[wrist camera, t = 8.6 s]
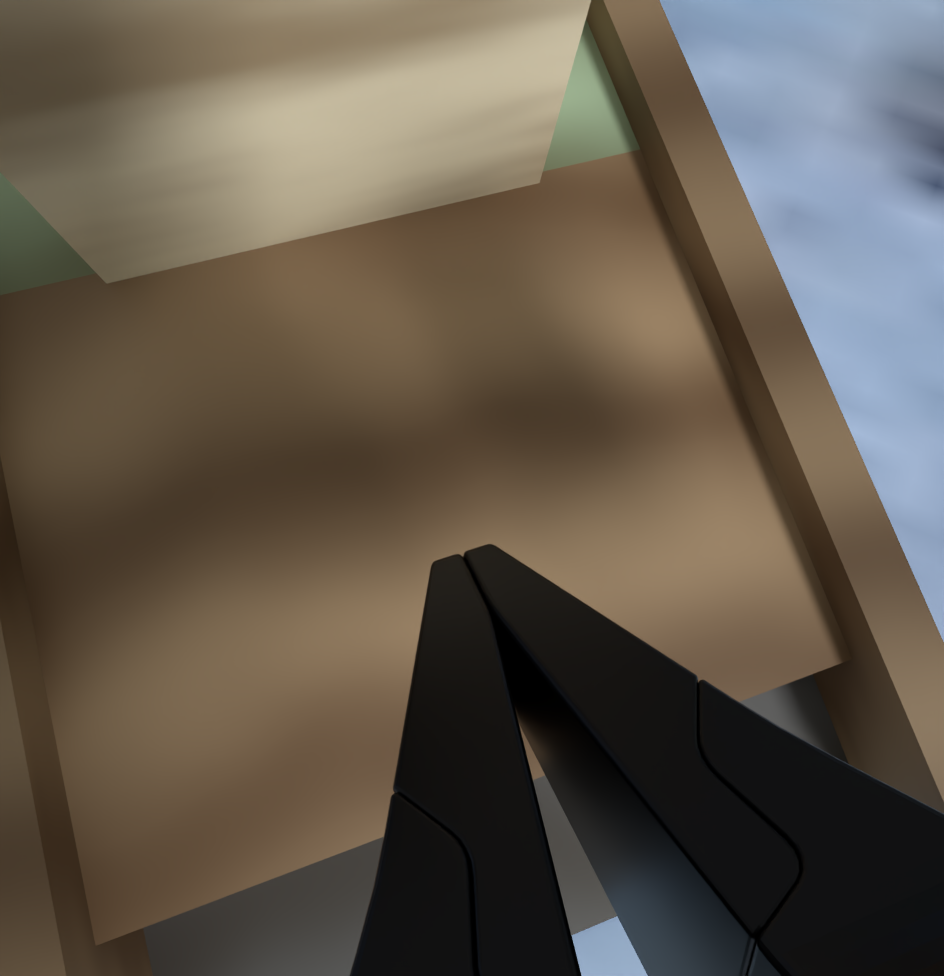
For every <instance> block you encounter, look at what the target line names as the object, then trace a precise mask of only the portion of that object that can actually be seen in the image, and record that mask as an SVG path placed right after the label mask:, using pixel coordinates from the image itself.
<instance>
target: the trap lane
mask: <svg viewBox="0 0 944 976" xmlns="http://www.w3.org/2000/svg"><path fill="white" fill-rule="evenodd" d="M486 544H493V545H495V546H497V547H498V548H500V549H502V550H503V551H505V552H506V553H508V554H509V555H511V556H512V557H514V558H515V559H517V560H519V561H520V562H522V563H523V564H525V565H526V566H528V567H529V568H531V569H533V570H534V571H536V572H537V573H539V574H540V575H542V576H543V577H545V578H547V579H548V580H550V581H551V582H553V583H554V584H556V585H557V586H559V587H561V588H562V589H564V590H565V591H567V592H568V593H570V594H571V595H573V596H575V597H576V598H578V599H579V600H581V601H582V602H584V603H585V604H587V605H589V606H590V607H592V608H593V609H595V610H596V611H598V612H599V613H601V614H603V615H604V616H606V617H607V618H609V619H610V620H612V621H613V622H615V623H616V624H618V625H620V626H621V627H623V628H624V629H626V630H627V631H629V632H630V633H632V634H634V635H635V636H637V637H638V638H640V639H641V640H643V641H644V642H646V643H648V644H649V645H651V646H652V647H654V648H655V649H657V650H658V651H660V652H662V653H663V654H665V655H666V656H668V657H669V658H671V659H672V660H674V661H676V662H677V663H679V664H680V665H682V666H683V667H685V668H686V669H688V670H690V671H691V672H693V673H694V674H696V675H697V677H698V682H699V681H700V680H702V679H703V680H706V681H707V682H709V683H710V684H712V685H713V686H715V687H716V688H718V689H719V690H721V691H723V692H724V693H726V694H727V695H729V696H730V697H732V698H733V699H735V700H737V701H738V702H740V703H742V704H743V705H745V706H747V707H748V708H750V709H752V710H753V711H755V712H756V713H758V714H760V715H761V716H763V717H765V718H766V719H768V720H770V721H771V722H773V723H774V724H776V725H778V726H779V727H781V728H783V729H785V730H787V731H789V732H790V733H792V734H794V735H796V736H798V737H799V738H801V739H803V740H805V741H807V742H809V743H810V744H812V745H814V746H816V747H818V748H820V749H821V750H823V751H825V752H827V753H829V754H830V755H832V756H834V757H836V758H838V759H840V760H842V761H844V762H846V763H847V764H849V765H851V766H853V767H855V768H857V769H859V770H861V771H863V772H865V773H867V774H869V775H871V776H872V777H874V778H876V779H878V780H880V781H882V782H884V783H886V784H888V785H890V786H892V787H894V788H895V789H897V790H899V791H901V792H903V793H905V794H907V795H909V796H911V797H913V798H915V799H917V800H919V801H920V802H922V803H924V804H926V805H928V806H930V807H932V808H934V809H936V810H938V811H940V812H942V813H944V642H943V640H942V638H941V636H940V633H939V631H938V629H937V627H936V624H935V622H934V620H933V617H932V615H931V613H930V611H929V608H928V606H927V604H926V602H925V599H924V597H923V595H922V593H921V590H920V588H919V586H918V584H917V581H916V579H915V577H914V575H913V572H912V570H911V568H910V566H909V563H908V561H907V559H906V557H905V554H904V552H903V550H902V547H901V545H900V543H899V541H898V538H897V536H896V534H895V532H894V529H893V527H892V525H891V523H890V520H889V518H888V516H887V514H886V511H885V509H884V507H883V505H882V502H881V500H880V498H879V496H878V493H877V491H876V489H875V487H874V484H873V482H872V480H871V477H870V475H869V473H868V471H867V468H866V466H865V464H864V462H863V459H862V457H861V455H860V453H859V450H858V448H857V446H856V444H855V441H854V439H853V437H852V435H851V432H850V430H849V428H848V426H847V423H846V421H845V419H844V417H843V414H842V412H841V410H840V407H839V405H838V403H837V401H836V398H835V396H834V394H833V392H832V389H831V387H830V385H829V383H828V380H827V378H826V376H825V374H824V371H823V369H822V367H821V365H820V362H819V360H818V358H817V356H816V353H815V351H814V349H813V347H812V344H811V342H810V340H809V337H808V335H807V333H806V331H805V328H804V326H803V324H802V322H801V319H800V317H799V315H798V313H797V310H796V308H795V306H794V304H793V301H792V299H791V297H790V295H789V292H788V290H787V288H786V286H785V283H784V281H783V279H782V277H781V274H780V272H779V270H778V267H777V265H776V263H775V261H774V258H773V256H772V254H771V252H770V249H769V247H768V245H767V243H766V240H765V238H764V236H763V234H762V231H761V229H760V227H759V225H758V222H757V220H756V218H755V216H754V213H753V211H752V209H751V207H750V204H749V202H748V200H747V197H746V195H745V193H744V191H743V188H742V186H741V184H740V182H739V179H738V177H737V175H736V173H735V170H734V168H733V166H732V164H731V161H730V159H729V157H728V155H727V152H726V150H725V148H724V146H723V143H722V141H721V139H720V137H719V134H718V132H717V130H716V127H715V125H714V123H713V121H712V118H711V116H710V114H709V112H708V109H707V107H706V105H705V103H704V100H703V98H702V96H701V94H700V91H699V89H698V87H697V85H696V82H695V80H694V78H693V76H692V73H691V71H690V69H689V67H688V64H687V62H686V60H685V57H684V55H683V53H682V51H681V48H680V46H679V44H678V42H677V39H676V37H675V35H674V33H673V30H672V28H671V26H670V24H669V21H668V19H667V17H666V15H665V12H664V10H663V8H662V6H661V3H660V1H659V0H591V3H590V6H589V10H588V13H587V17H586V20H585V24H584V27H583V31H582V34H581V38H580V42H579V45H578V49H577V52H576V56H575V59H574V63H573V66H572V70H571V73H570V77H569V80H568V84H567V88H566V91H565V95H564V98H563V102H562V105H561V109H560V112H559V116H558V119H557V123H556V126H555V130H554V133H553V137H552V141H551V144H550V148H549V151H548V155H547V158H546V162H545V165H544V169H543V172H542V176H541V179H540V183H537V184H533V185H529V186H524V187H520V188H516V189H511V190H507V191H503V192H499V193H494V194H490V195H486V196H481V197H477V198H473V199H468V200H464V201H460V202H456V203H451V204H447V205H443V206H438V207H434V208H430V209H425V210H421V211H417V212H413V213H408V214H404V215H400V216H395V217H391V218H387V219H382V220H378V221H374V222H370V223H365V224H361V225H357V226H352V227H348V228H344V229H340V230H335V231H331V232H327V233H322V234H318V235H314V236H309V237H305V238H301V239H297V240H292V241H288V242H284V243H279V244H275V245H271V246H266V247H262V248H258V249H254V250H249V251H245V252H241V253H236V254H232V255H228V256H223V257H219V258H215V259H211V260H206V261H202V262H198V263H193V264H189V265H185V266H180V267H176V268H172V269H168V270H163V271H159V272H155V273H150V274H146V275H142V276H137V277H133V278H129V279H125V280H120V281H116V282H112V283H107V284H106V283H105V282H104V281H103V279H102V278H101V277H100V276H99V275H98V274H97V273H96V272H95V271H94V270H93V269H92V268H91V267H90V266H89V265H88V264H87V263H86V262H85V261H84V260H83V258H82V257H81V256H80V255H79V254H78V253H77V252H76V251H75V250H74V249H73V248H72V247H71V246H70V245H69V244H68V243H67V242H66V241H65V240H64V238H63V237H62V236H61V235H60V234H59V233H58V232H57V231H56V230H55V229H54V228H53V227H52V226H51V225H50V224H49V223H48V222H47V221H46V220H45V219H44V217H43V216H42V215H41V214H40V213H39V212H38V211H37V210H36V209H35V208H34V207H33V206H32V205H31V204H30V203H29V202H28V201H27V200H26V199H25V198H24V196H23V195H22V194H21V193H20V192H19V191H18V190H17V189H16V188H15V187H14V186H13V185H12V184H11V183H10V182H9V181H8V180H7V179H6V178H5V177H4V175H3V174H2V173H1V172H0V976H349V975H350V972H351V969H352V965H353V962H354V958H355V955H356V951H357V947H358V944H359V940H360V936H361V932H362V928H363V925H364V921H365V917H366V913H367V909H368V906H369V902H370V898H371V894H372V890H373V886H374V881H375V877H376V872H377V867H378V862H379V857H380V852H381V847H382V842H383V838H384V833H385V827H386V821H387V816H388V810H389V804H390V798H391V796H392V794H394V791H393V783H394V777H395V772H396V766H397V760H398V754H399V748H400V742H401V737H402V731H403V725H404V719H405V713H406V708H407V702H408V696H409V690H410V684H411V679H412V673H413V667H414V661H415V655H416V650H417V644H418V638H419V632H420V626H421V620H422V615H423V609H424V603H425V597H426V591H427V586H428V580H429V574H430V568H431V565H432V563H433V562H434V561H436V560H439V559H442V558H445V557H448V556H451V555H455V554H460V555H462V556H463V555H464V553H465V551H467V550H470V549H473V548H477V547H480V546H483V545H486ZM519 726H520V725H519ZM520 730H521V734H522V738H523V742H524V746H525V750H526V754H527V758H528V762H529V766H530V770H531V774H532V778H533V782H534V786H535V790H536V794H537V798H538V802H539V807H540V811H541V815H542V819H543V823H544V827H545V831H546V835H547V839H548V843H549V847H550V851H551V855H552V859H553V863H554V867H555V871H556V875H557V879H558V883H559V887H560V891H561V895H562V899H563V903H564V908H565V912H566V916H567V920H568V924H569V928H570V932H571V935H573V934H576V933H578V932H580V931H583V930H585V929H587V928H590V927H592V926H595V925H597V924H599V923H602V922H604V921H606V920H609V919H611V918H614V917H616V916H617V914H616V912H615V910H614V908H613V907H612V905H611V903H610V901H609V899H608V897H607V895H606V893H605V891H604V889H603V887H602V885H601V883H600V881H599V879H598V877H597V875H596V873H595V871H594V869H593V867H592V866H591V864H590V862H589V860H588V858H587V856H586V854H585V852H584V850H583V848H582V846H581V844H580V842H579V840H578V838H577V836H576V834H575V832H574V830H573V828H572V826H571V824H570V823H569V821H568V819H567V817H566V815H565V813H564V811H563V809H562V807H561V805H560V803H559V801H558V799H557V797H556V795H555V793H554V791H553V789H552V787H551V785H550V783H549V782H548V780H547V778H546V776H545V774H544V772H543V770H542V768H541V766H540V764H539V762H538V760H537V758H536V756H535V754H534V752H533V750H532V748H531V746H530V744H529V742H528V740H527V739H526V737H525V735H524V733H523V731H522V729H521V727H520Z"/></svg>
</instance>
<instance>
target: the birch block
mask: <svg viewBox="0 0 944 976" xmlns="http://www.w3.org/2000/svg"><path fill="white" fill-rule="evenodd" d="M590 3H591V0H0V172H1V173H2V174H3V175H4V177H5V178H6V179H7V180H8V181H9V182H10V183H11V184H12V185H13V186H14V187H15V188H16V189H17V190H18V191H19V192H20V193H21V194H22V195H23V196H24V198H25V199H26V200H27V201H28V202H29V203H30V204H31V205H32V206H33V207H34V208H35V209H36V210H37V211H38V212H39V213H40V214H41V215H42V216H43V217H44V219H45V220H46V221H47V222H48V223H49V224H50V225H51V226H52V227H53V228H54V229H55V230H56V231H57V232H58V233H59V234H60V235H61V236H62V237H63V238H64V240H65V241H66V242H67V243H68V244H69V245H70V246H71V247H72V248H73V249H74V250H75V251H76V252H77V253H78V254H79V255H80V256H81V257H82V258H83V260H84V261H85V262H86V263H87V264H88V265H89V266H90V267H91V268H92V269H93V270H94V271H95V272H96V273H97V274H98V275H99V276H100V277H101V278H102V279H103V281H104V282H105V283H106V284H107V283H112V282H116V281H120V280H125V279H129V278H133V277H137V276H142V275H146V274H150V273H155V272H159V271H163V270H168V269H172V268H176V267H180V266H185V265H189V264H193V263H198V262H202V261H206V260H211V259H215V258H219V257H223V256H228V255H232V254H236V253H241V252H245V251H249V250H254V249H258V248H262V247H266V246H271V245H275V244H279V243H284V242H288V241H292V240H297V239H301V238H305V237H309V236H314V235H318V234H322V233H327V232H331V231H335V230H340V229H344V228H348V227H352V226H357V225H361V224H365V223H370V222H374V221H378V220H382V219H387V218H391V217H395V216H400V215H404V214H408V213H413V212H417V211H421V210H425V209H430V208H434V207H438V206H443V205H447V204H451V203H456V202H460V201H464V200H468V199H473V198H477V197H481V196H486V195H490V194H494V193H499V192H503V191H507V190H511V189H516V188H520V187H524V186H529V185H533V184H537V183H540V179H541V176H542V172H543V169H544V165H545V162H546V158H547V155H548V151H549V148H550V144H551V141H552V137H553V133H554V130H555V126H556V123H557V119H558V116H559V112H560V109H561V105H562V102H563V98H564V95H565V91H566V88H567V84H568V80H569V77H570V73H571V70H572V66H573V63H574V59H575V56H576V52H577V49H578V45H579V42H580V38H581V34H582V31H583V27H584V24H585V20H586V17H587V13H588V10H589V6H590Z"/></svg>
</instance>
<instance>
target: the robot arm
mask: <svg viewBox="0 0 944 976" xmlns="http://www.w3.org/2000/svg"><path fill="white" fill-rule="evenodd" d="M519 725H520V726H519ZM520 727H521V729H522V731H523V733H524V735H525V737H526V739H527V740H528V742H529V744H530V746H531V748H532V750H533V752H534V754H535V756H536V758H537V760H538V762H539V764H540V766H541V768H542V770H543V772H544V774H545V776H546V778H547V780H548V782H549V783H550V785H551V787H552V789H553V791H554V793H555V795H556V797H557V799H558V801H559V803H560V805H561V807H562V809H563V811H564V813H565V815H566V817H567V819H568V821H569V823H570V824H571V826H572V828H573V830H574V832H575V834H576V836H577V838H578V840H579V842H580V844H581V846H582V848H583V850H584V852H585V854H586V856H587V858H588V860H589V862H590V864H591V866H592V867H593V869H594V871H595V873H596V875H597V877H598V879H599V881H600V883H601V885H602V887H603V889H604V891H605V893H606V895H607V897H608V899H609V901H610V903H611V905H612V907H613V908H614V910H615V912H616V914H617V916H618V918H619V920H620V922H621V924H622V926H623V928H624V930H625V932H626V934H627V936H628V938H629V940H630V942H631V944H632V946H633V948H634V949H635V951H636V953H637V955H638V957H639V959H640V961H641V963H642V965H643V967H644V969H645V971H646V973H647V975H648V976H944V813H942V812H940V811H938V810H936V809H934V808H932V807H930V806H928V805H926V804H924V803H922V802H920V801H919V800H917V799H915V798H913V797H911V796H909V795H907V794H905V793H903V792H901V791H899V790H897V789H895V788H894V787H892V786H890V785H888V784H886V783H884V782H882V781H880V780H878V779H876V778H874V777H872V776H871V775H869V774H867V773H865V772H863V771H861V770H859V769H857V768H855V767H853V766H851V765H849V764H847V763H846V762H844V761H842V760H840V759H838V758H836V757H834V756H832V755H830V754H829V753H827V752H825V751H823V750H821V749H820V748H818V747H816V746H814V745H812V744H810V743H809V742H807V741H805V740H803V739H801V738H799V737H798V736H796V735H794V734H792V733H790V732H789V731H787V730H785V729H783V728H781V727H779V726H778V725H776V724H774V723H773V722H771V721H770V720H768V719H766V718H765V717H763V716H761V715H760V714H758V713H756V712H755V711H753V710H752V709H750V708H748V707H747V706H745V705H743V704H742V703H740V702H738V701H737V700H735V699H733V698H732V697H730V696H729V695H727V694H726V693H724V692H723V691H721V690H719V689H718V688H716V687H715V686H713V685H712V684H710V683H709V682H707V681H706V680H703V679H702V680H700V681H699V682H698V677H697V675H696V674H694V673H693V672H691V671H690V670H688V669H686V668H685V667H683V666H682V665H680V664H679V663H677V662H676V661H674V660H672V659H671V658H669V657H668V656H666V655H665V654H663V653H662V652H660V651H658V650H657V649H655V648H654V647H652V646H651V645H649V644H648V643H646V642H644V641H643V640H641V639H640V638H638V637H637V636H635V635H634V634H632V633H630V632H629V631H627V630H626V629H624V628H623V627H621V626H620V625H618V624H616V623H615V622H613V621H612V620H610V619H609V618H607V617H606V616H604V615H603V614H601V613H599V612H598V611H596V610H595V609H593V608H592V607H590V606H589V605H587V604H585V603H584V602H582V601H581V600H579V599H578V598H576V597H575V596H573V595H571V594H570V593H568V592H567V591H565V590H564V589H562V588H561V587H559V586H557V585H556V584H554V583H553V582H551V581H550V580H548V579H547V578H545V577H543V576H542V575H540V574H539V573H537V572H536V571H534V570H533V569H531V568H529V567H528V566H526V565H525V564H523V563H522V562H520V561H519V560H517V559H515V558H514V557H512V556H511V555H509V554H508V553H506V552H505V551H503V550H502V549H500V548H498V547H497V546H495V545H493V544H486V545H483V546H480V547H477V548H473V549H470V550H467V551H465V553H464V555H463V556H462V555H460V554H455V555H451V556H448V557H445V558H442V559H439V560H436V561H434V562H433V563H432V565H431V568H430V574H429V580H428V586H427V591H426V597H425V603H424V609H423V615H422V620H421V626H420V632H419V638H418V644H417V650H416V655H415V661H414V667H413V673H412V679H411V684H410V690H409V696H408V702H407V708H406V713H405V719H404V725H403V731H402V737H401V742H400V748H399V754H398V760H397V766H396V772H395V777H394V783H393V791H394V794H392V796H391V798H390V804H389V810H388V816H387V821H386V827H385V833H384V838H383V842H382V847H381V852H380V857H379V862H378V867H377V872H376V877H375V881H374V886H373V890H372V894H371V898H370V902H369V906H368V909H367V913H366V917H365V921H364V925H363V928H362V932H361V936H360V940H359V944H358V947H357V951H356V955H355V958H354V962H353V965H352V969H351V972H350V975H349V976H581V972H580V968H579V964H578V960H577V956H576V952H575V948H574V944H573V940H572V936H571V932H570V928H569V924H568V920H567V916H566V912H565V908H564V903H563V899H562V895H561V891H560V887H559V883H558V879H557V875H556V871H555V867H554V863H553V859H552V855H551V851H550V847H549V843H548V839H547V835H546V831H545V827H544V823H543V819H542V815H541V811H540V807H539V802H538V798H537V794H536V790H535V786H534V782H533V778H532V774H531V770H530V766H529V762H528V758H527V754H526V750H525V746H524V742H523V738H522V734H521V730H520Z"/></svg>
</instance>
